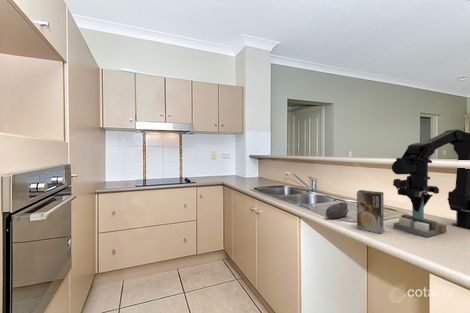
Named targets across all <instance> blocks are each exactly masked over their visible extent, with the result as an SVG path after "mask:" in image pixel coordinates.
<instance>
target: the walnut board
mask: <svg viewBox="0 0 470 313" xmlns="http://www.w3.org/2000/svg"><path fill="white" fill-rule="evenodd" d="M413 224H414V223H413ZM429 229H433V230H435V236H438V235H441V234H444V233H445V234H446V233H447V224H446V223H440V222H437V221H436V227H433V228H431V227H429Z"/></svg>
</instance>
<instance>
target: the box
mask: <svg viewBox="0 0 470 313" xmlns="http://www.w3.org/2000/svg"><path fill="white" fill-rule="evenodd" d="M392 224H393V225H392V226H393V229H396V230H399V231H403V232H406V233H409V234H412V235H413V234H414V235H416V236H419V237H423V238H426V239H427V238H431V237H434V236H436V235H435V230H433V229H429V231H427V232H425V231H421V230H417V229H414V224H413V228H410V227H407V226H403V225H399V221H397V222H394V223H392Z"/></svg>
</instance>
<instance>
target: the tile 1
mask: <svg viewBox="0 0 470 313" xmlns="http://www.w3.org/2000/svg"><path fill="white" fill-rule="evenodd" d="M398 222H399V225H403V226H407V227H410V228H413V220H412V219H408V218H404V217H398Z"/></svg>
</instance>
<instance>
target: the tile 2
mask: <svg viewBox="0 0 470 313" xmlns="http://www.w3.org/2000/svg"><path fill="white" fill-rule="evenodd" d="M414 229H417V230H421V231H425V232H427V231H429V224H426V223H422V222H418V221H416V222H414Z"/></svg>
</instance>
